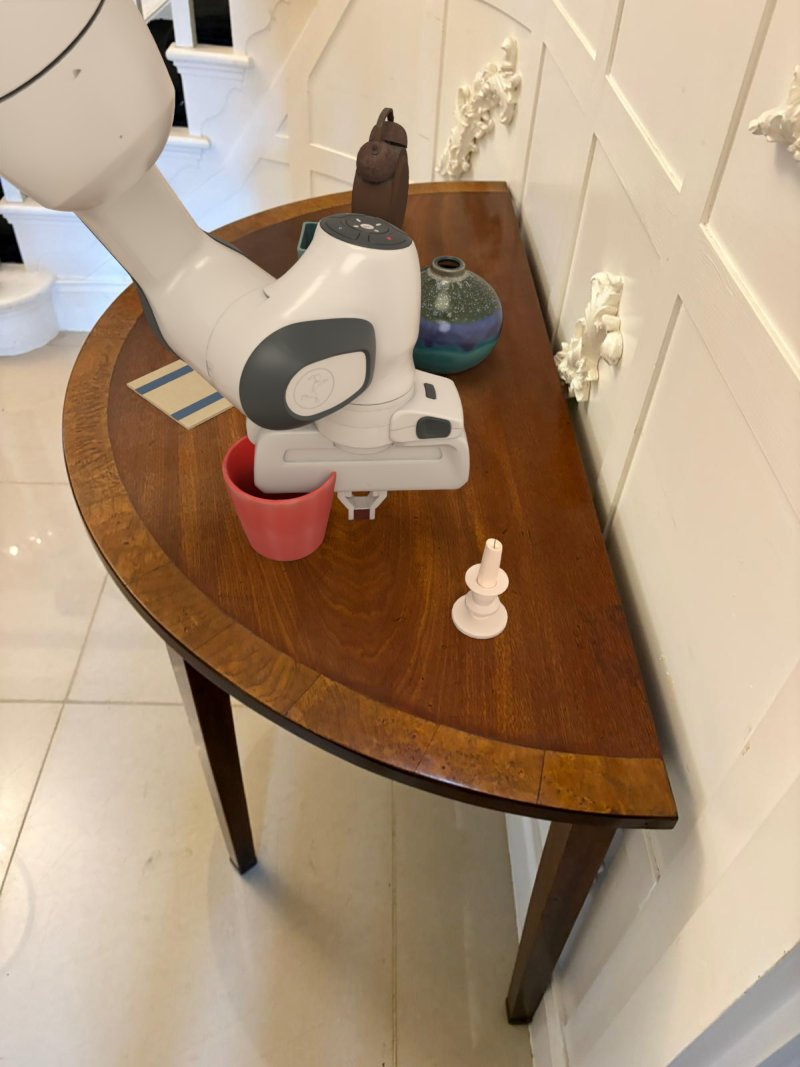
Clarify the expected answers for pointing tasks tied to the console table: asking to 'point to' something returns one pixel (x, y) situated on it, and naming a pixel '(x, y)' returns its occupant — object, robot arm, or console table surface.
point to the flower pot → (276, 509)
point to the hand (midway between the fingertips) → (360, 515)
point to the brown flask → (382, 172)
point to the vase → (455, 318)
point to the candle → (483, 597)
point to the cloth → (181, 394)
